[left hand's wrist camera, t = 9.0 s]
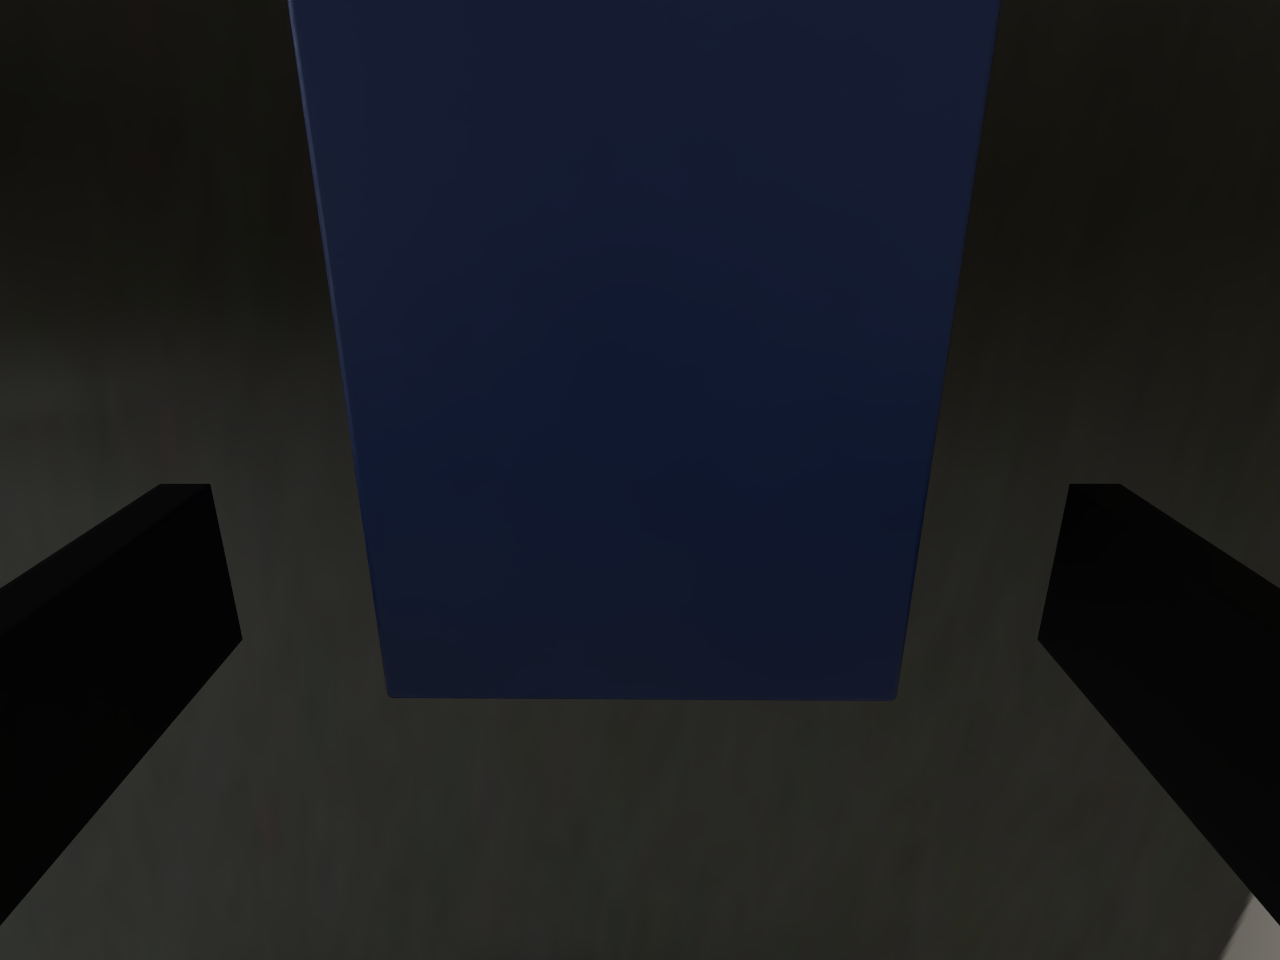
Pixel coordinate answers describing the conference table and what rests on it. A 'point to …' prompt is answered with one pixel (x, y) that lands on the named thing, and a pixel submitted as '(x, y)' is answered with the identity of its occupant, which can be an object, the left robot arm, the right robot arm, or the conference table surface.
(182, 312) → the conference table surface
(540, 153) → the box
